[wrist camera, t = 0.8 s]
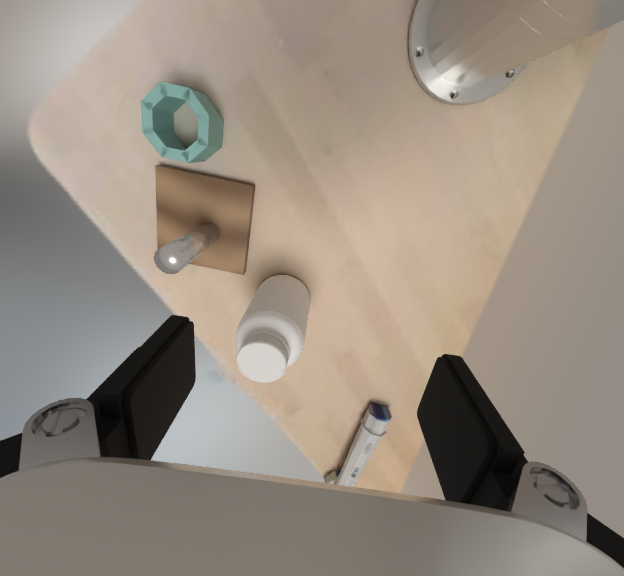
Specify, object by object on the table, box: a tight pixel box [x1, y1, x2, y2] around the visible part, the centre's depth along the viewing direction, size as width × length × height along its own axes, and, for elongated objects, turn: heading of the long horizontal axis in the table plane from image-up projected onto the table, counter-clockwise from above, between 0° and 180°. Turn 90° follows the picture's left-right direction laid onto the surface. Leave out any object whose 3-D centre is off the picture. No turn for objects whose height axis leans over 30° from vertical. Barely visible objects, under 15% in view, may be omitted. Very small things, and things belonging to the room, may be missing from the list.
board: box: [156, 165, 255, 275], centre depth 39 cm, size 12×12×1 cm
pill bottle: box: [236, 275, 310, 383], centre depth 37 cm, size 8×8×15 cm
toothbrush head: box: [325, 403, 392, 487], centre depth 55 cm, size 5×7×25 cm
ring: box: [141, 82, 223, 163], centre depth 33 cm, size 7×7×4 cm
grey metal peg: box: [154, 222, 220, 274], centre depth 34 cm, size 3×3×11 cm
